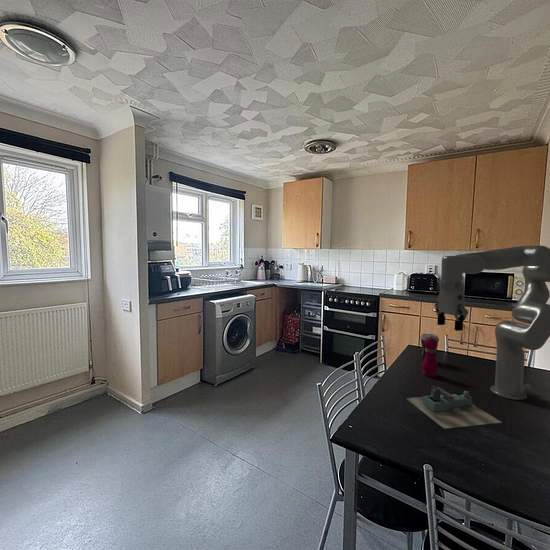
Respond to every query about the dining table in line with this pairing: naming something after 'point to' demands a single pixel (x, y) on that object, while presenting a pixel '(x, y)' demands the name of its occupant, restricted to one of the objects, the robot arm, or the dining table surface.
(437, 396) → the pin
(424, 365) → the pepper mill
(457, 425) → the board
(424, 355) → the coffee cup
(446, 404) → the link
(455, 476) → the dining table surface
